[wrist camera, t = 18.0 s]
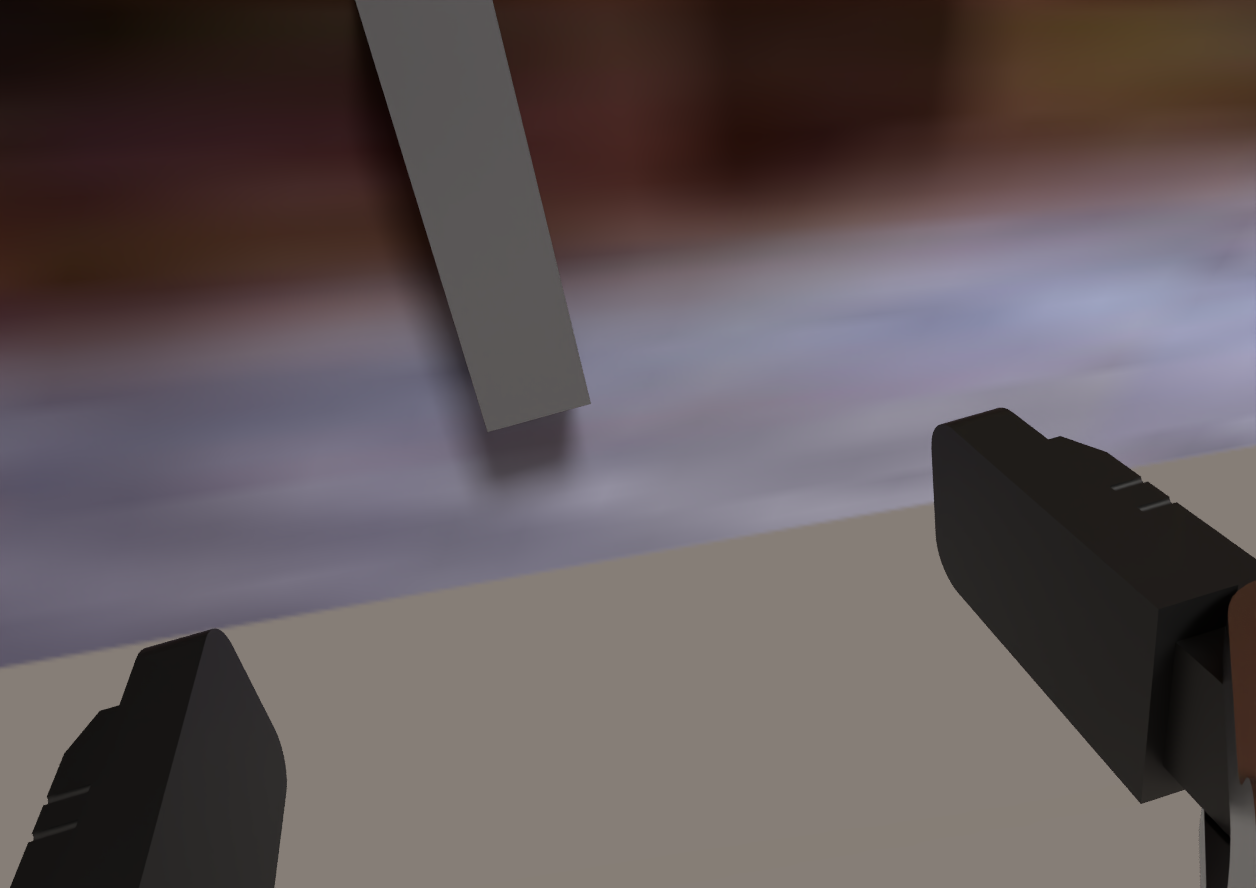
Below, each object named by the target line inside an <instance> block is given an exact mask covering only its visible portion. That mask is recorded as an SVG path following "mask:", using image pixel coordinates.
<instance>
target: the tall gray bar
mask: <svg viewBox="0 0 1256 888" xmlns="http://www.w3.org/2000/svg"><path fill="white" fill-rule="evenodd" d="M355 1H356V4H357V8H358V11H359V14H360V17H361V21H362V24H363V27H364V30H365V34H366V37H367V40H368V43H369V47H370V50H371V53H372V57H373V60H374V63H375V66H376V70H377V73H378V76H379V79H380V83H381V86H382V89H383V92H384V96H385V99H386V102H387V105H388V109H389V112H390V115H391V119H392V122H393V125H394V128H395V132H396V135H397V138H398V141H399V145H400V148H401V151H402V154H403V158H404V161H405V164H406V167H407V171H408V174H409V177H410V181H411V184H412V187H413V190H414V194H415V197H416V200H417V203H418V207H419V210H420V213H421V216H422V220H423V223H424V226H425V229H426V233H427V236H428V239H429V242H430V246H431V249H432V252H433V256H434V259H435V262H436V265H437V269H438V272H439V275H440V278H441V282H442V285H443V288H444V291H445V295H446V298H447V301H448V304H449V308H450V311H451V314H452V318H453V321H454V324H455V327H456V331H457V334H458V337H459V340H460V344H461V347H462V350H463V353H464V357H465V360H466V363H467V366H468V370H469V373H470V376H471V380H472V383H473V386H474V389H475V393H476V396H477V399H478V402H479V406H480V409H481V412H482V415H483V419H484V422H485V425H486V428H487V432H490V431H494V430H497V429H501V428H505V427H508V426H512V425H516V424H519V423H523V422H526V421H530V420H534V419H537V418H541V417H545V416H548V415H552V414H555V413H559V412H563V411H566V410H570V409H573V408H577V407H581V406H584V405H588V404H591V402H590V398H589V394H588V390H587V386H586V382H585V378H584V374H583V370H582V365H581V361H580V357H579V353H578V349H577V345H576V341H575V337H574V333H573V329H572V325H571V320H570V316H569V312H568V308H567V304H566V300H565V296H564V292H563V288H562V284H561V279H560V275H559V271H558V267H557V263H556V259H555V255H554V251H553V247H552V243H551V239H550V234H549V230H548V226H547V222H546V218H545V214H544V210H543V206H542V202H541V198H540V194H539V189H538V185H537V181H536V177H535V173H534V169H533V165H532V161H531V157H530V153H529V149H528V144H527V140H526V136H525V132H524V128H523V124H522V120H521V116H520V112H519V108H518V104H517V99H516V95H515V91H514V87H513V83H512V79H511V75H510V71H509V67H508V63H507V59H506V54H505V50H504V46H503V42H502V38H501V34H500V30H499V26H498V22H497V18H496V14H495V9H494V5H493V1H492V0H355Z"/></svg>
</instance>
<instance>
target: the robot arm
mask: <svg viewBox="0 0 1256 888" xmlns="http://www.w3.org/2000/svg"><path fill="white" fill-rule="evenodd" d="M932 467H933V488H934V508H935V529H936V542H937V547H938V552H939V556H940V559H941V562H942V565H943V567H944V570H945V572H946V574H947V576H948V578H949V580H950V582H951V583H952V585H953V587H954V588H955V589H956V590H957V592H958V593H959V594H960V595H961V596H962V598H963V599H964V600H965V601H966V602H967V603H968V605H969V606H970V607H971V608H972V609H973V611H974V612H975V613H976V614H977V615H978V616H979V617H980V619H981V620H982V621H983V622H984V623H985V624H986V626H987V627H988V628H989V629H990V630H991V631H992V632H993V634H994V635H995V636H996V637H997V638H998V639H999V641H1000V642H1001V643H1002V644H1003V645H1004V646H1005V647H1006V649H1007V650H1008V651H1009V652H1010V653H1011V654H1012V656H1013V657H1014V658H1015V659H1016V660H1017V661H1018V662H1019V663H1020V665H1021V666H1022V667H1023V668H1024V669H1025V671H1026V672H1027V673H1028V674H1029V675H1030V676H1031V677H1032V679H1033V680H1034V681H1035V682H1036V683H1037V684H1038V686H1039V687H1040V688H1041V689H1042V690H1043V691H1044V692H1045V694H1046V695H1047V696H1048V697H1049V698H1050V699H1051V700H1052V702H1053V703H1054V704H1055V705H1056V706H1057V707H1058V709H1059V710H1060V711H1061V712H1062V713H1063V714H1064V716H1065V717H1066V718H1067V719H1068V720H1069V721H1070V722H1071V724H1072V725H1073V726H1074V727H1075V728H1076V729H1077V731H1078V732H1079V733H1080V734H1081V735H1082V736H1083V738H1085V740H1086V741H1087V742H1088V743H1089V744H1090V746H1091V747H1092V748H1093V749H1094V750H1095V751H1096V753H1097V754H1098V755H1099V756H1100V757H1101V758H1102V759H1103V760H1104V762H1105V763H1106V764H1107V765H1108V766H1109V767H1110V769H1111V770H1112V771H1113V772H1114V773H1115V774H1116V776H1117V777H1118V778H1119V779H1120V780H1121V781H1122V783H1123V784H1124V785H1125V786H1126V787H1127V788H1128V789H1129V791H1130V792H1131V793H1132V794H1133V795H1134V796H1135V798H1136V799H1137V800H1138V801H1139V802H1140V803H1141V804H1142V803H1145V802H1148V801H1152V800H1155V799H1157V798H1160V797H1163V796H1167V795H1170V794H1172V793H1176V792H1179V791H1182V790H1186V791H1187V792H1188V793H1189V794H1190V795H1191V796H1192V798H1193V799H1194V800H1195V801H1196V802H1197V803H1198V804H1199V805H1200V806H1201V807H1202V809H1201V817H1200V824H1199V859H1200V861H1199V863H1200V888H1256V559H1255V558H1254V557H1252V556H1251V555H1249V554H1248V553H1247V552H1245V551H1244V550H1242V549H1241V548H1240V547H1238V546H1237V545H1236V544H1234V543H1232V542H1231V541H1230V540H1229V539H1227V538H1226V537H1224V536H1223V535H1222V534H1220V533H1219V532H1217V531H1216V530H1215V529H1213V528H1212V527H1210V526H1209V525H1208V524H1206V523H1205V522H1203V521H1202V520H1201V519H1199V518H1197V517H1196V516H1195V515H1194V514H1192V513H1191V512H1189V511H1188V510H1187V509H1185V508H1184V507H1182V506H1181V505H1180V504H1178V503H1173V504H1172V503H1171V502H1170V499H1169V496H1167V495H1166V494H1164V493H1163V492H1162V491H1160V490H1159V489H1157V488H1156V487H1155V486H1153V485H1152V484H1150V483H1149V482H1145V483H1143V482H1142V480H1141V476H1139V475H1138V474H1136V473H1135V472H1134V471H1132V470H1131V469H1129V468H1128V467H1127V466H1125V465H1124V464H1123V463H1121V462H1120V461H1118V460H1117V459H1116V458H1114V457H1113V456H1111V455H1110V454H1109V453H1107V452H1105V451H1102V450H1099V449H1096V448H1093V447H1090V446H1087V445H1084V444H1082V443H1079V442H1076V441H1073V440H1070V439H1067V438H1064V437H1061V436H1059V437H1056V438H1052V439H1049V440H1048V439H1047V438H1046V437H1044V436H1043V435H1042V434H1040V433H1039V432H1038V431H1036V430H1035V429H1034V428H1032V427H1031V426H1030V425H1028V424H1027V423H1026V422H1025V421H1023V420H1022V419H1021V418H1019V417H1018V416H1017V415H1015V414H1014V413H1013V412H1011V411H1010V410H1008V409H1005V408H997V409H993V410H990V411H986V412H983V413H979V414H976V415H972V416H969V417H965V418H962V419H958V420H954V421H951V422H947V423H944V424H941V425H938V426H937V427H936V428H935V430H934V432H933V435H932ZM286 787H287V778H286V767H285V761H284V755H283V751H282V747H281V744H280V741H279V738H278V735H277V733H276V731H275V729H274V727H273V725H272V723H271V721H270V719H269V717H268V715H267V713H266V711H265V709H264V707H263V705H262V703H261V701H260V699H259V697H258V695H257V693H256V691H255V689H254V687H253V686H252V684H251V681H250V679H249V677H248V675H247V673H246V671H245V670H244V668H243V666H242V664H241V662H240V660H239V658H238V656H237V654H236V652H235V650H234V648H233V646H232V644H231V642H230V641H229V639H228V638H227V636H226V635H225V634H224V633H223V632H222V631H221V630H219V629H211V630H207V631H204V632H200V633H197V634H193V635H190V636H186V637H183V638H179V639H176V640H172V641H169V642H165V643H162V644H158V645H154V646H151V647H148V648H144V649H143V650H141V652H140V653H139V654H138V656H137V658H136V660H135V663H134V666H133V669H132V672H131V674H130V677H129V680H128V683H127V686H126V688H125V691H124V694H123V697H122V700H121V702H120V705H119V706H116V707H112V708H109V709H105V710H101V711H99V713H98V714H97V715H96V716H95V717H94V719H93V720H92V721H91V722H90V723H89V725H88V726H87V727H86V728H85V730H84V731H83V732H82V733H81V734H80V735H79V737H78V738H77V739H76V740H75V741H74V743H73V744H72V745H71V746H70V747H69V749H68V750H67V751H66V752H65V753H64V756H63V758H62V761H61V763H60V766H59V768H58V770H57V773H56V775H55V778H54V780H53V783H52V785H51V788H50V790H49V793H48V795H47V798H48V804H47V805H44V806H43V807H42V810H41V812H40V815H39V817H38V820H37V822H36V825H35V827H34V830H33V832H32V834H33V836H34V840H33V841H32V842H29V843H28V845H27V847H26V850H25V852H24V855H23V857H22V859H21V862H20V864H19V867H18V869H17V872H16V874H15V877H14V879H13V882H12V884H11V886H10V888H274V885H275V878H276V868H277V862H278V854H279V845H280V837H281V830H282V822H283V814H284V806H285V798H286Z"/></svg>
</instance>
